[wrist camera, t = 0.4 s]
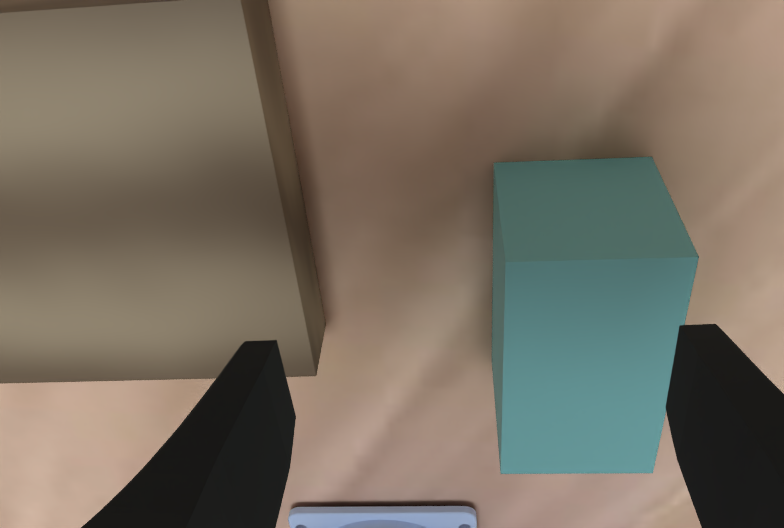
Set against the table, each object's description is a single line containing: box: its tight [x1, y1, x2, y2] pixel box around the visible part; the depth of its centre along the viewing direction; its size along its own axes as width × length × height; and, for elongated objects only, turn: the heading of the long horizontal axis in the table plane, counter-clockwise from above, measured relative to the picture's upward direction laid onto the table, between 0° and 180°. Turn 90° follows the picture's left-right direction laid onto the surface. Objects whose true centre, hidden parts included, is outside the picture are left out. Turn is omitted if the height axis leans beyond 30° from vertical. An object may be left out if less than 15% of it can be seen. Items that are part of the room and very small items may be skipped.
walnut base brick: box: [0, 0, 326, 383], centre depth 22 cm, size 12×12×3 cm
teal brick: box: [492, 157, 699, 474], centre depth 22 cm, size 8×4×5 cm, turn 4°
